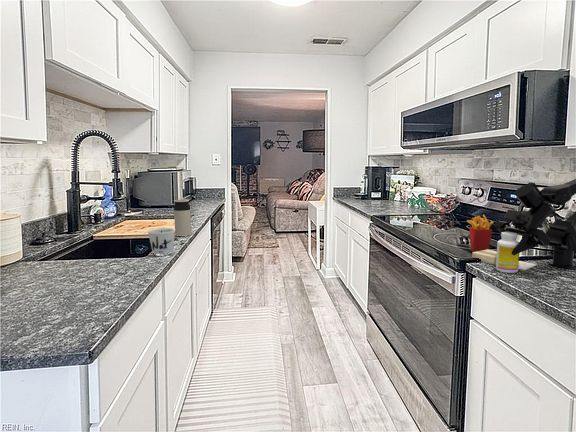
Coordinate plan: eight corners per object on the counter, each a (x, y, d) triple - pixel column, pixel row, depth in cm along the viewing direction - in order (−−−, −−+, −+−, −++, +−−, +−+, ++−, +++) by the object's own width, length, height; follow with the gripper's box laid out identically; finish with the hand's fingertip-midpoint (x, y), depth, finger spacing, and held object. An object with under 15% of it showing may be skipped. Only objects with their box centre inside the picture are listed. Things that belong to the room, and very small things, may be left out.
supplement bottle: (521, 274, 131) (524, 235, 129) (499, 273, 132) (501, 234, 130) (514, 268, 137) (516, 231, 136) (493, 267, 139) (495, 231, 137)
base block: (487, 255, 155) (487, 249, 154) (509, 260, 147) (510, 254, 146) (471, 258, 150) (472, 252, 150) (494, 264, 143) (494, 257, 142)
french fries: (491, 254, 156) (494, 216, 154) (469, 254, 157) (471, 216, 154) (482, 249, 165) (484, 213, 162) (461, 249, 165) (463, 213, 163)
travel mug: (185, 237, 198) (183, 201, 195) (172, 236, 201) (169, 200, 198) (194, 234, 206) (192, 199, 203) (181, 233, 208) (179, 199, 206)
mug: (147, 258, 159) (146, 233, 157) (152, 249, 173) (151, 227, 172) (175, 256, 161) (173, 232, 159) (177, 248, 175) (176, 225, 174)
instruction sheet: (513, 260, 148) (513, 259, 147) (537, 264, 141) (537, 264, 141) (500, 265, 141) (500, 264, 141) (525, 270, 135) (525, 269, 135)
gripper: (500, 198, 141) (471, 230, 140) (545, 204, 123) (512, 241, 122) (517, 219, 144) (489, 251, 143) (564, 228, 126) (532, 265, 125)
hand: (504, 251), depth 134 cm, fingers closed on supplement bottle, 7 cm apart
